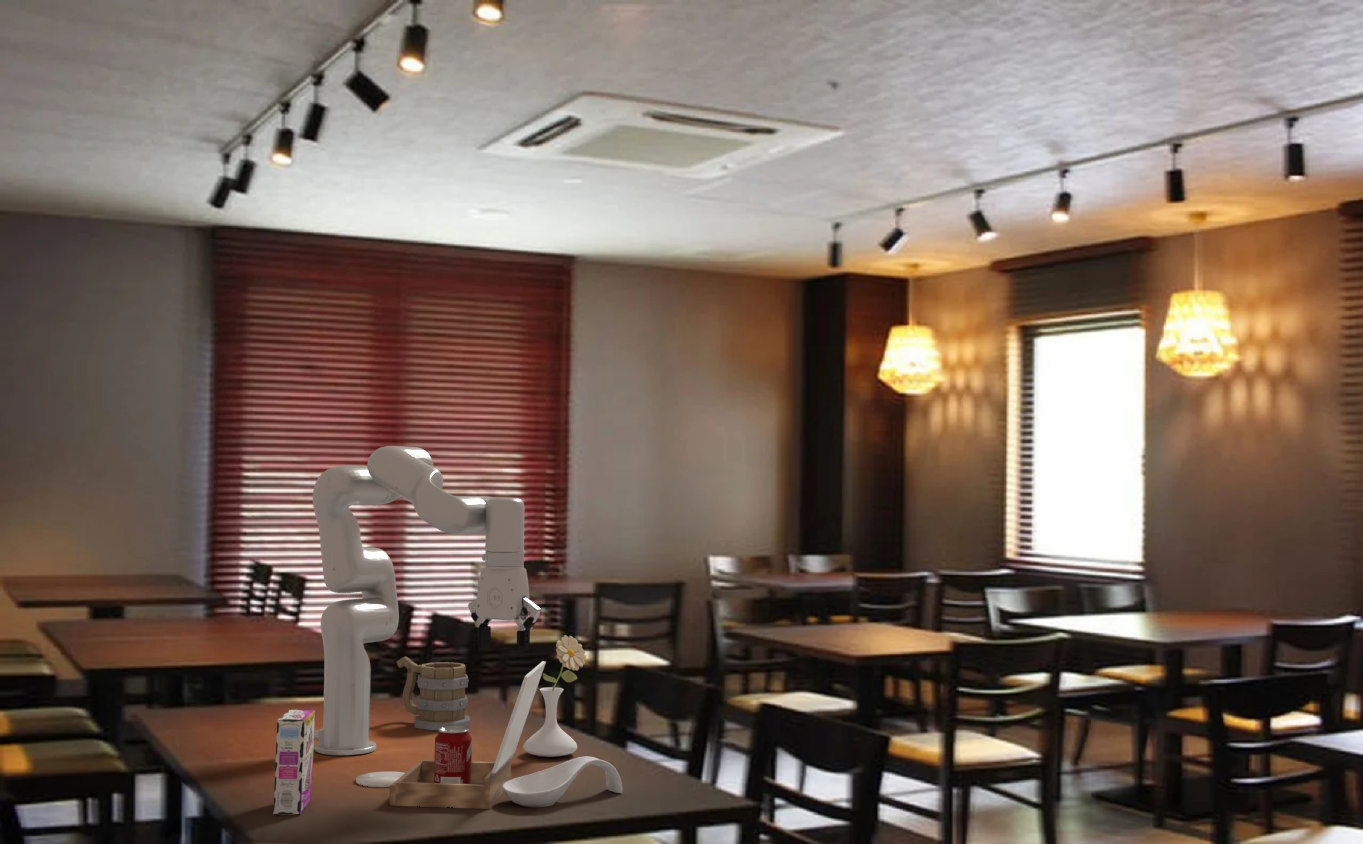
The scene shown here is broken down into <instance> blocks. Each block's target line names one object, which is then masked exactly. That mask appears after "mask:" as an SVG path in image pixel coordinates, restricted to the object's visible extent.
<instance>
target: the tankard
mask: <svg viewBox="0 0 1363 844" xmlns="http://www.w3.org/2000/svg"><path fill="white" fill-rule="evenodd" d="M396 664H397V666H398V668H399V669H401V668H403V667H405V668H406V669H407V671H406V672H407V673H406V674H407V675H406V681H405V684H404V686H403V690H402V691H403V692H402V702H403V705H404V708H405V710H406V712H407V713H409V714H412V715H415V716H414V717H413V727H414V728H415V729H418V730H419V729H420V730H425V731H437V732H438V731H439V728H442V727H448V726H461V727H467V728H469V727H470V726H471V719H470V717H469V715H467V714H465V713H466V711H465V710H466V709H467V708H468V702H469V699H468V697H467V695H466V688H468V687H469V677H468V674H466V673H467V670H466V665H465V664H464V663H459V662H454V661H453V662H449V661H446V662H445V661H444V662H443V661H442V662H440V661H439V662H437V661H436V662H427V663H422V664H419V665H418V664H417V663H415V662H414V661H413V660H412V659H411V658H409V657H407V656H403V657H401V658H400V659H398V660H397V661H396ZM418 673H419V674H418ZM416 683H417V687H418V688H419V695H417V696H416V697H417V700H416V704H414V701H413V692H414V689H415V686H416Z"/></svg>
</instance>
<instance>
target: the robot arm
mask: <svg viewBox="0 0 1363 844" xmlns="http://www.w3.org/2000/svg"><path fill="white" fill-rule="evenodd" d="M443 487H444V478H443V475H442V472H441V471H440V470H439V469H438V468H436V467H434V461H433V458H432V457H431V456H430V454H429V453H428V452H427V451H426V450H425V449H423V448H421V447H417V446H405V445H404V446H403V445H385V446H381V447H379V448H377V449H375V450H374V451H373V452H372V453H371V454H370V456H369V457H368V460H367V465H359V464H358V465H357V464H356V465H354V464H353V465H352V464H347V465H337V466H334V467H330V468H328V469H326V470H325V471H323V472H322V473H321V474H320V475H319V476H318V478H317V479H316V481H315V483H314V487H313V490H312V506H313V511H314V515H315V519H316V522H317V527H318V533H319V544H320V554H321V555H320V556H321V565H322V575H323V579H324V580H323V581H324V584H325V587H326V588H327V589H328V590H329V591H330V592H333V593H336V594H353V593H361V597H362V598H352V599H351V598H349V599H340V600H338V601H335V602H332V603H331V604H330V605H328V606H327V607H326V608H325V609H324V610H323V612H322V614H321V619H320V632H321V638H322V645H323V652H324V653H323V654H324V658H323V659H324V663H323V666H324V668H323V669H324V671H323V672H324V673H323V675H324V681H323V683H324V684H323V718H322V719H323V720H322V727H321V728H319V729H317V730H316V729H314V741H317V743H316V744H314V751H315V752H316V753H318V754H321V755H327V756H353V755H354V756H355V755H356V756H357V755H363V754H368V753H372V752H374V751H376V750H377V743H376V742H375V741H373V740H370V710H371V709H370V708H371V707H370V706H371V704H370V703H371V671H372V669H371V662H370V657H369V655H368V653H367V651H366V649H365V646H364V644H367V643H374V642H375V643H376V642H383V641H386V640H389V639H390V638H391V637H393V636H394V635H395V633H396V631H397V629H398V626H399V621H400V615H399V614H400V612H399V601H398V592H397V584H396V583H397V581H396V574H395V573H396V572H395V567H394V563H393V561H392V560H391V557H390V556H389V555H388V554H387V552H385V551H384V549H381V548H379V547H378V548H377V547H372V546H371V547H363V544H362V538H361V537H362V536H361V528H360V525H359V521H358V520H357V518H356V517H355V515H354V514H353V512H352V511H351V510H350V507H351V506H381V505H383V506H384V505H387V504H390V503H392V502H393V501H396V500H398V499H400V498H403V499H405V500H406V501H407V502H410V503H412V504H413V505H412V506H413V509H414V510H415V513H416V514H417V516H418V517H419V518H420V519H421V520H423V522H425V523H427V524H428V525H430V526H432V527H434V528H435V529H437V530H439V531H441V532H443V533H446V534H450V535H454V536H455V535H456V536H458V535H483V534H485V540H484V541H485V545H484V547H485V549H484V551H485V552H484V553H483V554H482V556H481V559H482V561H484V566H483V567H481V570H480V574H479V579H478V585H477V586H478V587H477V594H476V599H474V600H472V601H470V602H469V603H468V604H467V607H468V610H469V613H470V614H471V615H470V617H471V619H472V620H473V622H474V626H475V627H476V628H477V647H478V649H482V648H489V647H491V643H492V640H491V639H492V637H491V635H492V628H491V627H492V626H490V625H489V624H490V623H491V622H492V620H494V621H495V620H496V621H514V623H515V624H516V626H517V627H518V629H519V630H517V631H516V651H517V652H526V651H529V650H530V645H531V640H530V639H531V631H532V630H533V628H534V626H535V625H536V623H537V622H538V618H539V616H540V614H541V612H542V609H541V608H540V606H539V605H537V604H535V602H533V601H532V600H530V587H529V579H528V578H529V577H528V572H527V569H526V568H525V567H524V566H525V565H524V564H525V502H524V501H523V500H522V499H520V498H519V497H518V498H516V497H495V496H494V497H493V496H487V495H478V496H477V495H454V494H451V493H448V492H447V491H445V490H443Z"/></svg>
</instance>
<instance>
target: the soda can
mask: <svg viewBox="0 0 1363 844" xmlns="http://www.w3.org/2000/svg"><path fill="white" fill-rule="evenodd" d="M469 730H470V729H469V727H461V726H448V727H442V728H439V730H438V733H437V735H436V737H435V738H434V759H433V760H434V782H433V783H449V784H471V762H472V757H473V756H472V755H473V753H472V752H473V751H472V750H473V738H472V736H471V733H470V732H469Z"/></svg>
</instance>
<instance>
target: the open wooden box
mask: <svg viewBox="0 0 1363 844" xmlns="http://www.w3.org/2000/svg"><path fill="white" fill-rule="evenodd" d="M494 764H495V761H474V760H473V761H472V762H471V784H449V783H434V759H433V760H432V759H422V761H420V762H419V761H418V762H417V763H415V764H414V765H413V766H412V767H411V768H409V769H408V770H407V771H405V772H404V773H405V774H404V775H402V776H401V777H400V778H399V779H397V780H396V781H395V782H394V783H393V784H391V785H390V787H389V806H390V805H391V806H392V807H395V806H396V807H417V806H418V808H419V806H420V807H421V808H422V807H425V808H447V807H450V808H451V807H453V809H455V808H456V809H478V810H479V809H480V810H482V809H485V810H491V808H492V807H493V806H494V805H495V803H496V802H497V801H498V800H499V798H500V797H501V796H502V795H503V793H504V792H503V790H502V785H503V784H504V783H505V782H507V781H509V780H511V778H512V777H511V776H512V758H511V759H510V760H509V761H508V762H507V763H506V765H505V766H504V767H503V768H502V769H501V770H500V771H499V772H498V773H497V775H496V776H495V777H494V778H491V777H490V774H491V773H492V770H493V767H494ZM451 809H452V808H451Z"/></svg>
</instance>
